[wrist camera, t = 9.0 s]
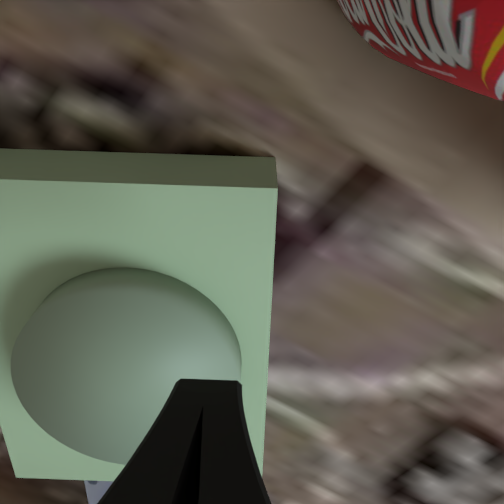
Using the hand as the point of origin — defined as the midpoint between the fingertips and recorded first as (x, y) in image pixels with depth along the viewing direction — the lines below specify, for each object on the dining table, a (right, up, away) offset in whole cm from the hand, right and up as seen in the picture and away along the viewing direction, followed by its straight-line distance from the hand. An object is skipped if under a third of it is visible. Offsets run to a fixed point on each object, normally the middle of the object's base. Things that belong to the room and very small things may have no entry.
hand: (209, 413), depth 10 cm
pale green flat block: (-7, +1, +11) cm, 13 cm away
